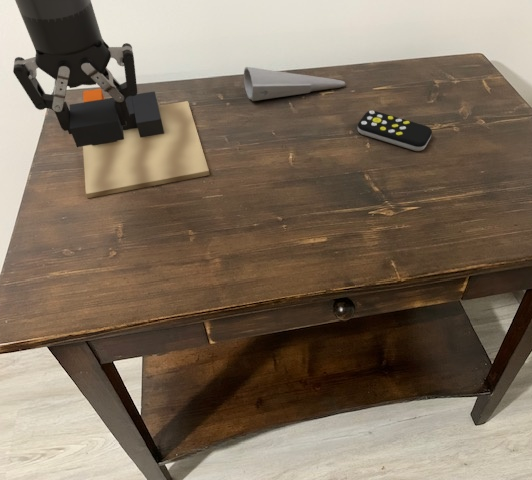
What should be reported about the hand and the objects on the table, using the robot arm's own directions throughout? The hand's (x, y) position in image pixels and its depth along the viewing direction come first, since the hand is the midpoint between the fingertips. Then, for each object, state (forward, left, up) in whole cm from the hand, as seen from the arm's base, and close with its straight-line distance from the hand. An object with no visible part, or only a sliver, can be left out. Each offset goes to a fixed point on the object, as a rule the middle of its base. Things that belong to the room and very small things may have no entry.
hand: (98, 125), depth 71 cm
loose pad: (0, +1, -1) cm, 2 cm away
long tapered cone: (+35, +23, -14) cm, 44 cm away
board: (+4, +13, -14) cm, 20 cm away
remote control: (+47, +4, -14) cm, 50 cm away
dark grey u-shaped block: (+2, +19, -13) cm, 23 cm away
